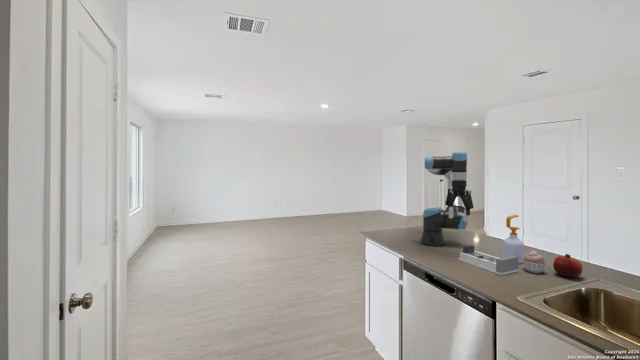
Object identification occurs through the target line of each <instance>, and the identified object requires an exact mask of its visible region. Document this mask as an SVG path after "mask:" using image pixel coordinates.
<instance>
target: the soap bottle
mask: <svg viewBox="0 0 640 360" xmlns="http://www.w3.org/2000/svg"><path fill="white" fill-rule="evenodd" d="M514 218H519V215H518V214H512V215H508V216H506V220H505V221H506V222H505V226H506V228H508V229H510V231H511V232H509V237H506V238H505V239H503V241H502V247H503V248H502V258H503V257H508V256H517V257H518V264H522V263H523V264H524V262H523V259H525V255H524V254H525V253H524V252H525V250H524V249H525V244H524V241H523V240H521V239H520V238H519V237H518V233H517V232H516V231H518V230H521V228H520V227H517V226H511V220H513V219H514Z"/></svg>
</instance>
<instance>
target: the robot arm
mask: <svg viewBox="0 0 640 360" xmlns="http://www.w3.org/2000/svg"><path fill="white" fill-rule="evenodd" d="M467 168H468V153H467V152H466V151H455V152H452V154H451V156H426V157H425V158H424V169H425V170H427V171H428V172H429V173H430V174H432V175H436V176H444V178H445V179H446V180H447V194H446V198H445V202H444V205H445V206H447V207H446V208H445V209H443V207H429V208H425V209H424V210H423V213H422V215H423V216H422V218H423V221H422V222H423V223H422V234H421V237H420V239H419V240H420V242H419V243H420V244H422V245H424V246H427V247H444V246H446V241H445V238H444V233H443V229H447V230H448V229H449V230H465V229H467V226H468V222H469V221H470V216H471V209H474V203H473V198H472V190H468V189H467V170H468V169H467Z"/></svg>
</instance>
